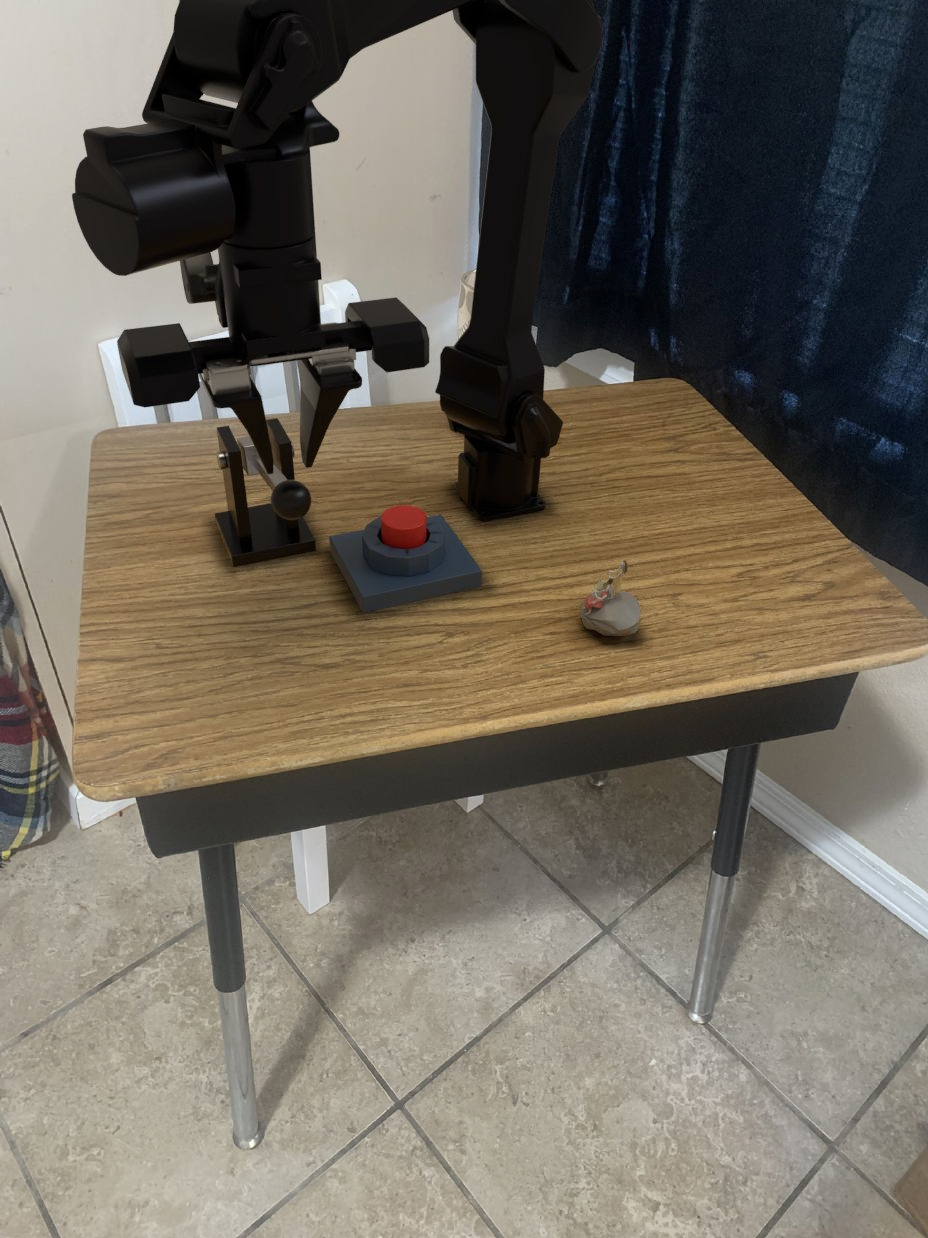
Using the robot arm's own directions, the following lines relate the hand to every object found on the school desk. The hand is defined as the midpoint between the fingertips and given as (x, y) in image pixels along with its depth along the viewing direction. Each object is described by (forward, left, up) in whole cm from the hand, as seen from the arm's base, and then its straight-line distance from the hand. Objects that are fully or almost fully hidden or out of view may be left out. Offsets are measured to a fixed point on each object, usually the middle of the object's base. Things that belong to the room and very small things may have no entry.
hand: (288, 467), depth 67 cm
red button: (-10, -3, -10) cm, 14 cm away
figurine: (-21, +9, -13) cm, 27 cm away
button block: (-9, -3, -13) cm, 16 cm away
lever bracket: (0, -12, -13) cm, 17 cm away
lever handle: (0, -5, -5) cm, 7 cm away
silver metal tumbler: (-26, -25, -13) cm, 38 cm away
